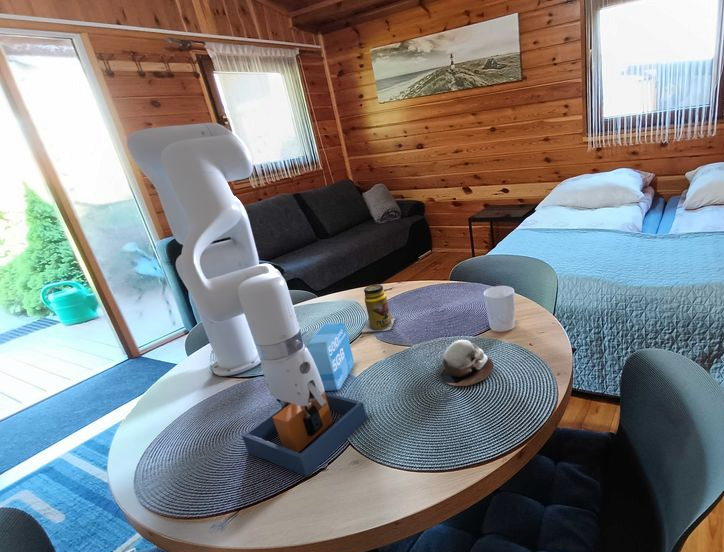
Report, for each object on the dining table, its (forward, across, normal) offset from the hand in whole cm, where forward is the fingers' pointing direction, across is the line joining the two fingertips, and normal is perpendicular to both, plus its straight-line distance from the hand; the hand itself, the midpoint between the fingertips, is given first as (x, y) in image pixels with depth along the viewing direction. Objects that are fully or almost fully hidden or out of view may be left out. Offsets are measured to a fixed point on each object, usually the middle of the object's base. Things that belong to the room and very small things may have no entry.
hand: (306, 427), depth 82 cm
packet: (+2, 0, 0) cm, 2 cm away
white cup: (+2, -18, -51) cm, 54 cm away
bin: (+2, 0, 0) cm, 2 cm away
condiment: (+2, +17, -42) cm, 45 cm away
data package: (+2, +9, -17) cm, 19 cm away
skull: (+2, -19, -29) cm, 35 cm away
